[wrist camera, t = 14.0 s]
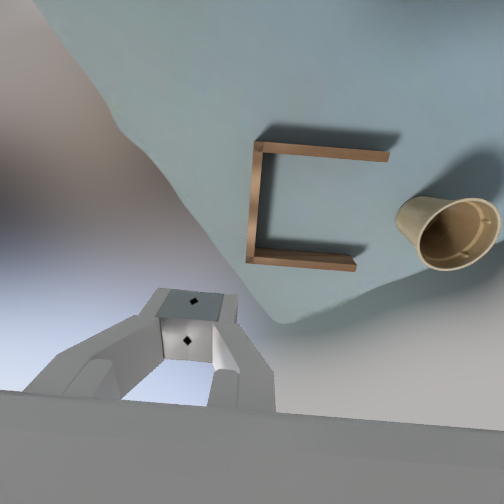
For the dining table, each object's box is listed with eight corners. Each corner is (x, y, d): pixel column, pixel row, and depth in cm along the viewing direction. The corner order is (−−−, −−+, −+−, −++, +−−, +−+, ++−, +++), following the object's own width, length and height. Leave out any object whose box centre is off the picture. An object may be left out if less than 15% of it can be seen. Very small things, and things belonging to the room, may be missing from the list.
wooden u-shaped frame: (254, 140, 33) (254, 141, 30) (377, 150, 33) (390, 152, 30) (246, 253, 40) (245, 263, 37) (347, 261, 40) (355, 271, 37)
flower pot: (464, 201, 36) (521, 219, 28) (419, 253, 39) (459, 281, 32) (412, 173, 34) (458, 183, 26) (372, 230, 38) (400, 253, 30)
